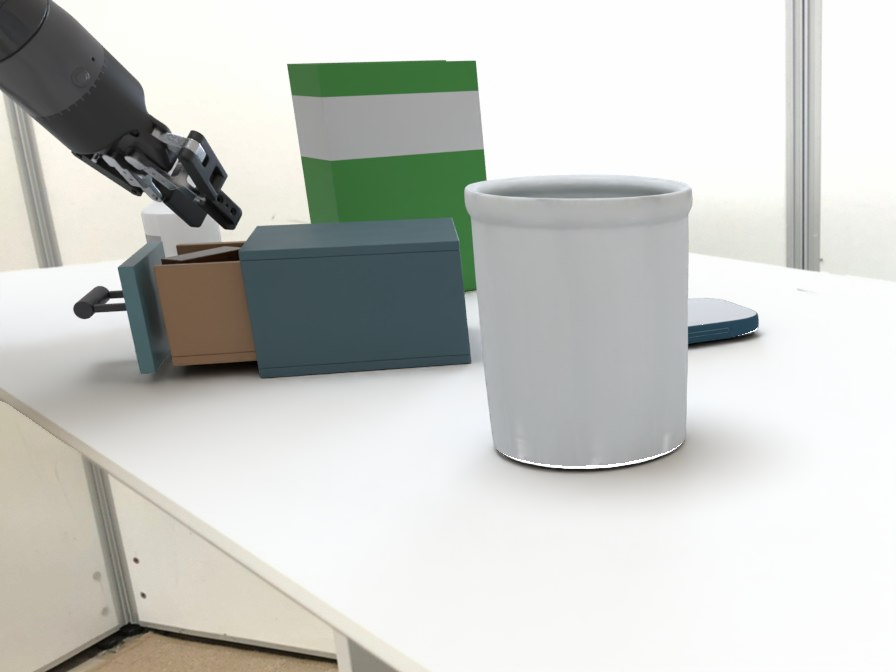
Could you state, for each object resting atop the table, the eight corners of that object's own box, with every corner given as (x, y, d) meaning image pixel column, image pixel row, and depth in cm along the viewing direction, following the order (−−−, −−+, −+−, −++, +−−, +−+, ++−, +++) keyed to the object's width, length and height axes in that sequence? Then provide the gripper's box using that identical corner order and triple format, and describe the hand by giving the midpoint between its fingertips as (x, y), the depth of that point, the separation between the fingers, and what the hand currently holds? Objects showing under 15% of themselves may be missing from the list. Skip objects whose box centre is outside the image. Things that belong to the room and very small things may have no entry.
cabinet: (260, 378, 101) (238, 251, 97) (275, 339, 114) (256, 225, 110) (471, 363, 105) (459, 240, 101) (463, 327, 118) (451, 217, 114)
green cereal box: (464, 277, 142) (441, 60, 133) (496, 286, 137) (475, 60, 128) (322, 298, 132) (286, 63, 122) (351, 308, 127) (317, 64, 117)
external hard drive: (713, 314, 123) (712, 295, 122) (771, 336, 113) (771, 315, 113) (492, 343, 112) (490, 322, 111) (537, 370, 103) (535, 347, 102)
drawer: (77, 378, 98) (52, 270, 95) (112, 341, 110) (90, 244, 107) (347, 360, 103) (332, 256, 100) (352, 326, 115) (339, 233, 111)
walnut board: (177, 346, 104) (160, 258, 101) (240, 329, 109) (225, 246, 106) (198, 349, 103) (181, 260, 100) (260, 331, 108) (246, 247, 105)
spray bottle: (206, 311, 126) (172, 131, 119) (250, 318, 123) (217, 133, 116) (148, 324, 121) (109, 136, 113) (193, 331, 117) (155, 138, 110)
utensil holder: (648, 400, 94) (639, 167, 87) (733, 453, 82) (730, 188, 75) (463, 427, 88) (438, 179, 81) (526, 489, 76) (502, 204, 69)
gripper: (149, 34, 87) (297, 189, 102) (20, 35, 93) (178, 182, 108) (102, 116, 85) (261, 261, 100) (-28, 112, 90) (141, 251, 105)
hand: (217, 219), depth 104 cm, fingers open, 3 cm apart
